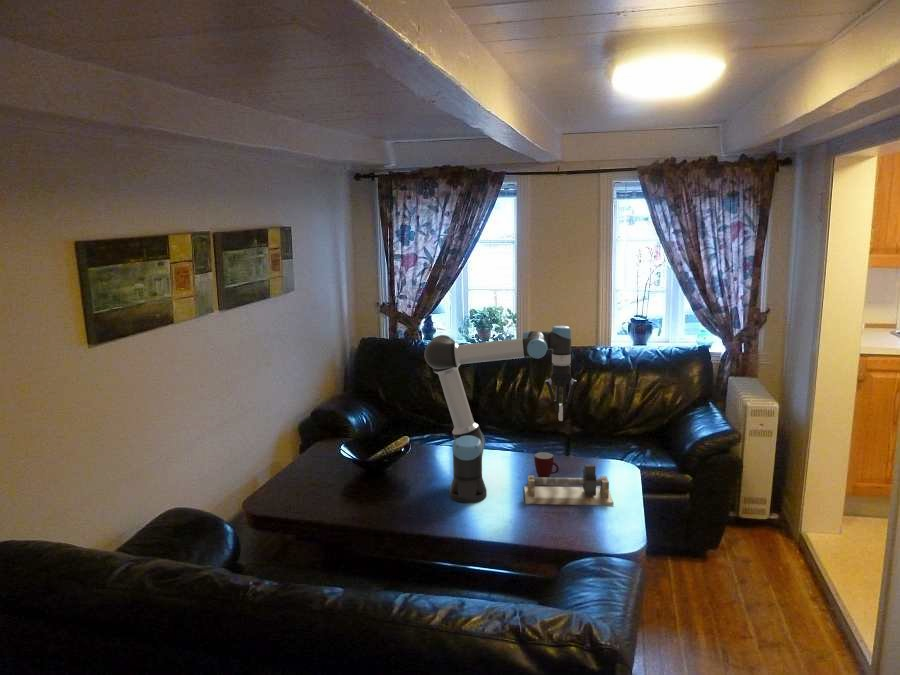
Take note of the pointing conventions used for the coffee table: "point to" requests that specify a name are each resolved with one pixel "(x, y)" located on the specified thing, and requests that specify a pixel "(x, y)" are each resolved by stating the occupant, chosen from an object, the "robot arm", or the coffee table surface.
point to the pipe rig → (566, 491)
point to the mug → (545, 464)
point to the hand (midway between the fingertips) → (560, 419)
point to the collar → (589, 479)
